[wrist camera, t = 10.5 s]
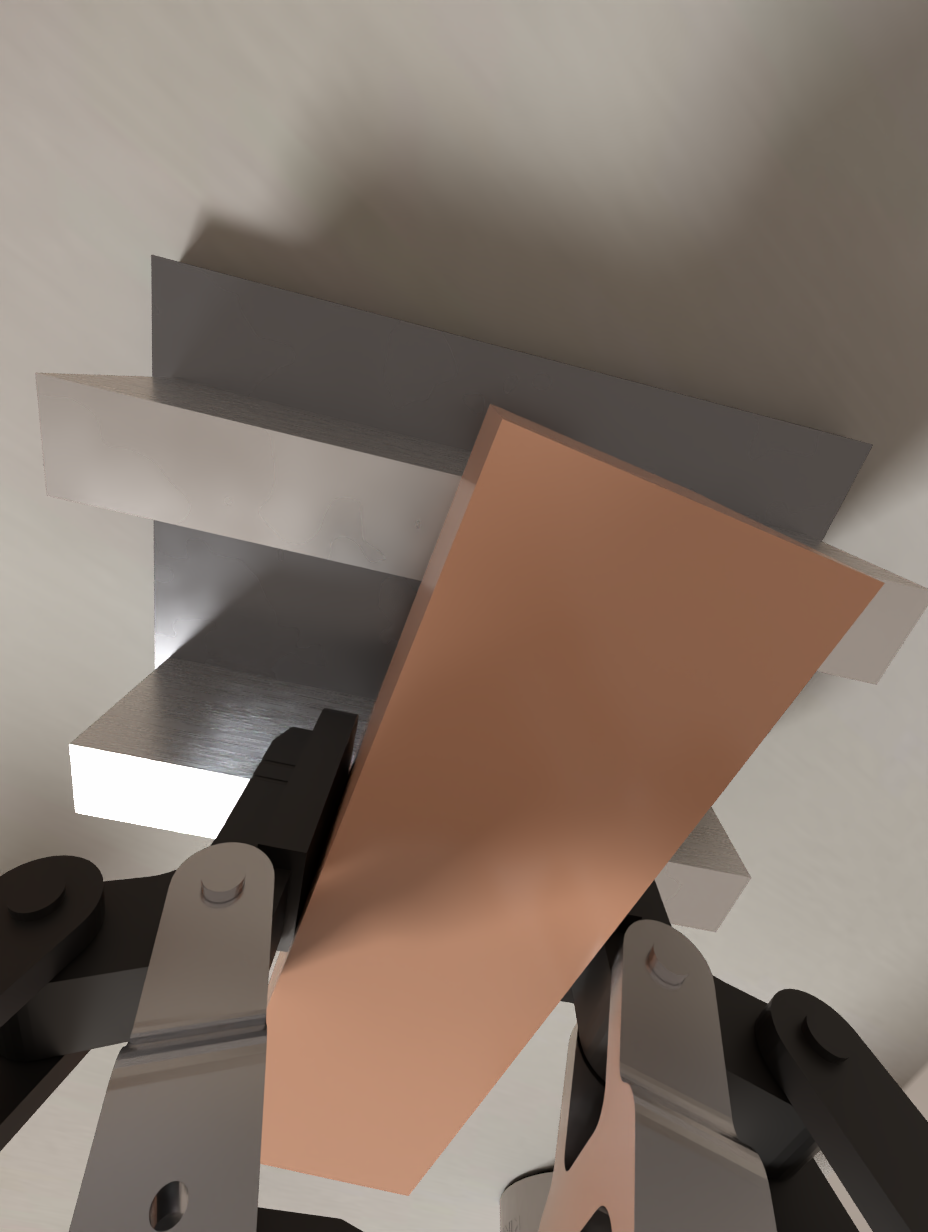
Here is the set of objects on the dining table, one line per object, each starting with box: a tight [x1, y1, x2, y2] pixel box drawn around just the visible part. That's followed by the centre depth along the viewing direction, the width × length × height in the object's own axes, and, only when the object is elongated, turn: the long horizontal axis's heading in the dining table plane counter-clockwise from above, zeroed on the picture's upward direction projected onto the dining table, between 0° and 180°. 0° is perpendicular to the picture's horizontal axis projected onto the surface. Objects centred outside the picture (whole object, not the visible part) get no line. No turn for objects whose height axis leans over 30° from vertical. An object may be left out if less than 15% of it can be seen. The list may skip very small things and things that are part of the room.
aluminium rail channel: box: [35, 255, 928, 932], centre depth 16 cm, size 20×17×6 cm
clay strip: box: [260, 404, 885, 1196], centre depth 10 cm, size 4×14×5 cm, turn 158°
